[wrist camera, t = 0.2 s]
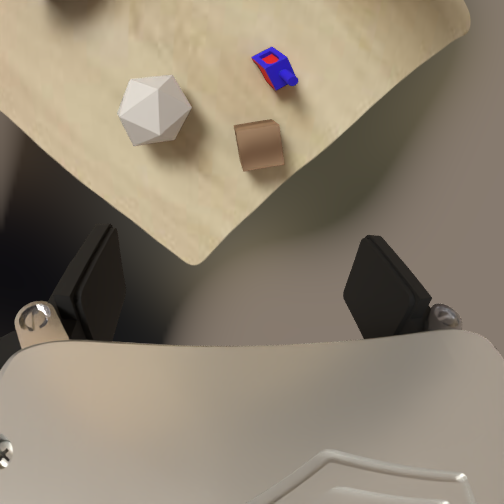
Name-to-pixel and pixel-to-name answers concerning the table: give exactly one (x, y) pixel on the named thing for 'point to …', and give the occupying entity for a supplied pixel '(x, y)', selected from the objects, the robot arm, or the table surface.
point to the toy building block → (275, 68)
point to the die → (153, 109)
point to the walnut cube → (259, 144)
